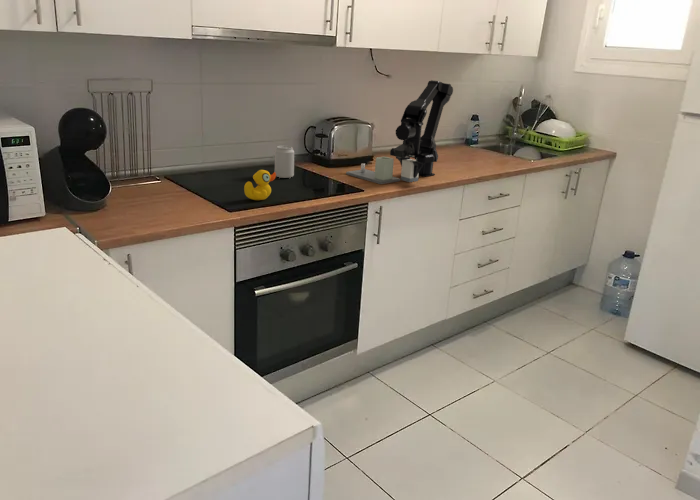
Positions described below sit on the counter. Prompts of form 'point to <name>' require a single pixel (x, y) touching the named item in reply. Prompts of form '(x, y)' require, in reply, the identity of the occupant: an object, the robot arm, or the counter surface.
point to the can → (284, 162)
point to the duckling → (259, 185)
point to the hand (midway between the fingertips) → (409, 176)
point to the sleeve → (408, 171)
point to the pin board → (377, 171)
